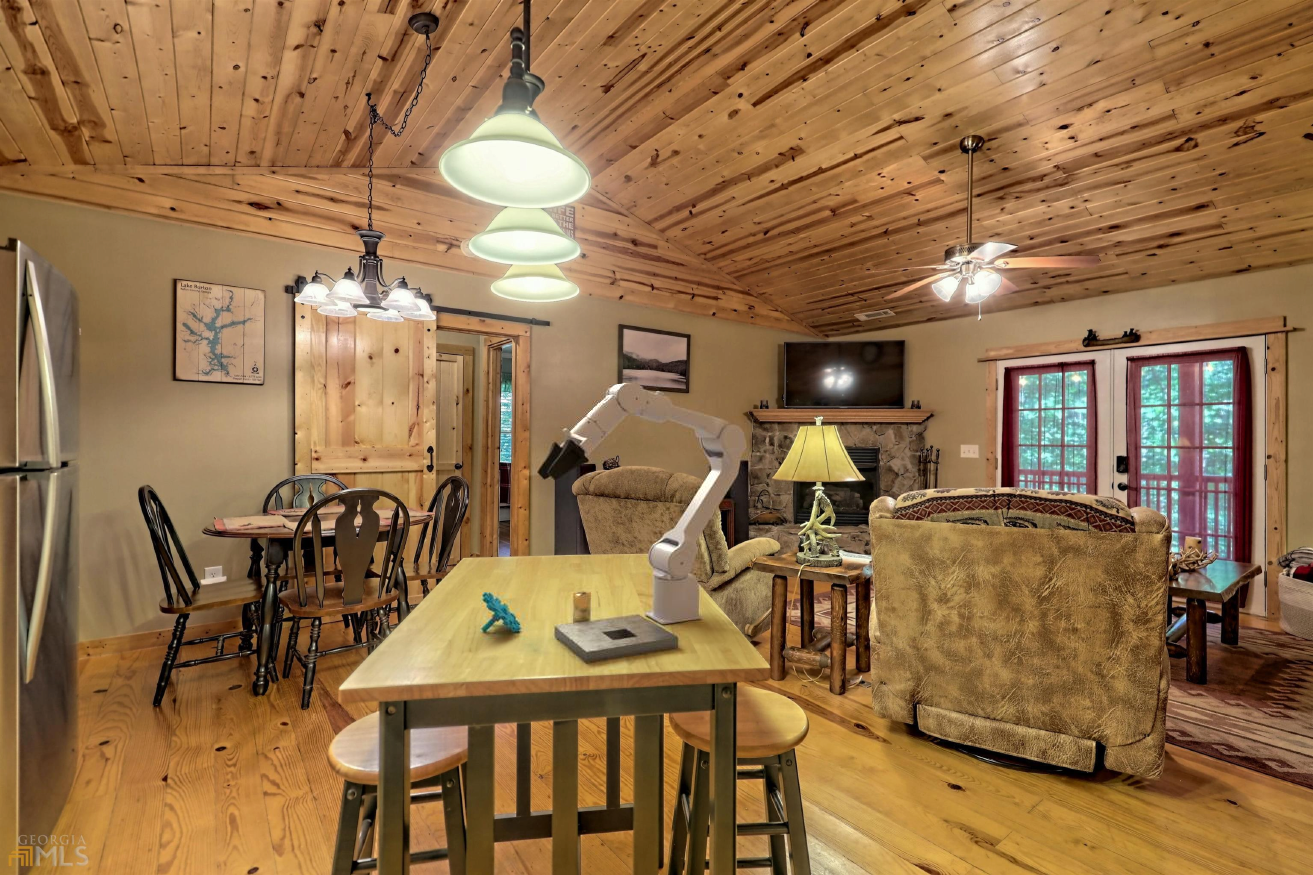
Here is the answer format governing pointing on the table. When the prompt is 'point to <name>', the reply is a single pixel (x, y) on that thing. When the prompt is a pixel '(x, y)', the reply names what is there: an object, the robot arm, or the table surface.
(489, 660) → the table surface
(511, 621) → the gear
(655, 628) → the plate
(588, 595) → the bushing
